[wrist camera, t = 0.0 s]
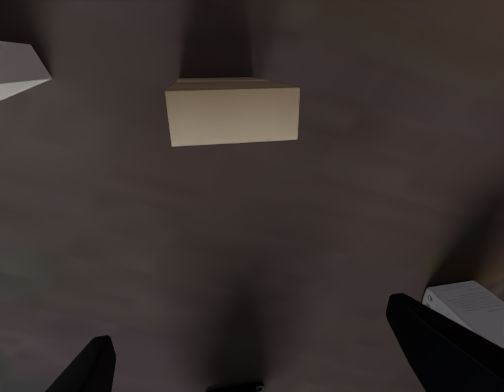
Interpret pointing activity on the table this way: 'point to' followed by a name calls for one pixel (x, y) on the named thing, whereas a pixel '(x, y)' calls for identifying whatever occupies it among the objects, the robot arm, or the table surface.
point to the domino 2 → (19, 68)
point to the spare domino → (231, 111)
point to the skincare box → (469, 308)
